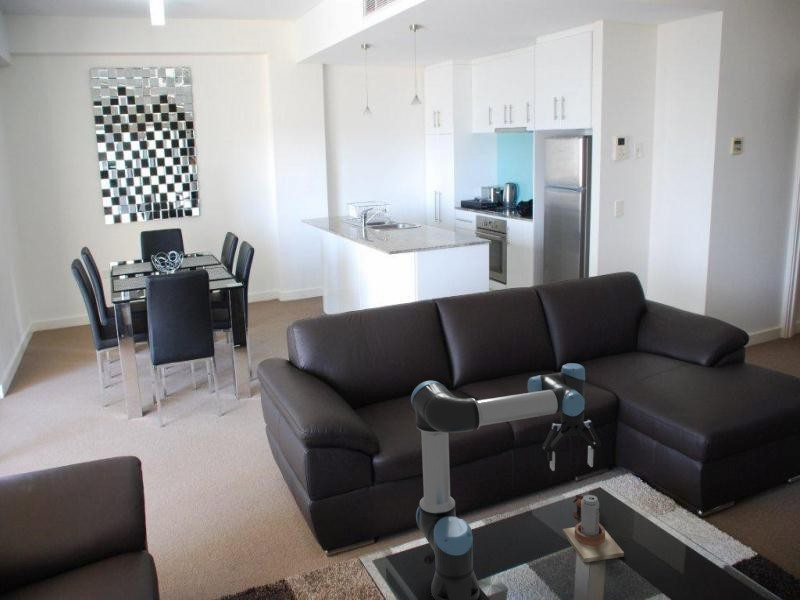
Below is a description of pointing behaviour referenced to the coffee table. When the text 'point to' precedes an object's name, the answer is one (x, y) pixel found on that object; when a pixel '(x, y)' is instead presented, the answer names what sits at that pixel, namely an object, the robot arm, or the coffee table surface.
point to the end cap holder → (593, 544)
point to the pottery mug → (578, 506)
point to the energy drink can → (590, 515)
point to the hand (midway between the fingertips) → (571, 467)
